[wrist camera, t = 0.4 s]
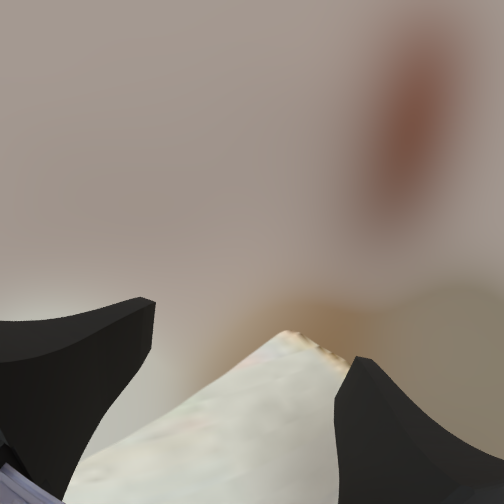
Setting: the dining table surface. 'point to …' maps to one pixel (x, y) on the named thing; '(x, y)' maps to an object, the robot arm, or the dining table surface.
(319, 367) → the dining table surface
